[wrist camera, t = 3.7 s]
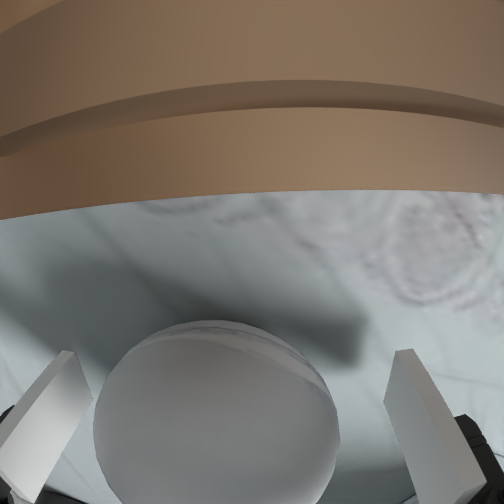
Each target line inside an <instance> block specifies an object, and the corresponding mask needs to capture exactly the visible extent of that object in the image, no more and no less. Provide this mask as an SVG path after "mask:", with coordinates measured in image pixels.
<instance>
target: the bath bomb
mask: <svg viewBox="0 0 504 504" xmlns="http://www.w3.org/2000/svg"><path fill="white" fill-rule="evenodd" d="M93 437H94V444H95V451H96V457H97V460H98V462H99V465H100V467H101V470H102V472H103V474H104V476H105V479H106V481H107V483H108V485H109V487H110V488H111V490H112V491H113V492H114V493H115V495H116V496H117V497H118V498H119V500H120V501H121V502H122V503H123V504H316V503H317V501H318V500H319V498H320V497H321V496H322V494H323V493H324V491H325V489H326V487H327V485H328V483H329V481H330V479H331V477H332V475H333V472H334V468H335V464H336V460H337V455H338V450H339V445H340V437H339V425H338V417H337V410H336V407H335V405H334V402H333V400H332V397H331V394H330V392H329V390H328V388H327V386H326V384H325V382H324V380H323V378H322V377H321V376H320V375H319V373H318V372H317V371H316V370H315V369H314V367H313V366H312V365H311V364H310V363H309V361H308V360H307V359H306V358H305V357H304V356H303V354H302V353H300V352H299V351H298V350H296V349H295V348H294V347H292V346H291V345H290V344H288V343H287V342H286V341H284V340H282V339H280V338H278V337H276V336H274V335H272V334H270V333H268V332H266V331H264V330H262V329H259V328H256V327H253V326H250V325H247V324H244V323H238V322H232V321H225V320H201V321H194V322H188V323H183V324H177V325H173V326H171V327H168V328H166V329H163V330H160V331H158V332H156V333H154V334H152V335H151V336H149V337H147V338H146V339H144V340H143V341H141V342H140V343H138V344H137V345H135V346H134V347H132V348H131V349H130V350H129V351H128V352H127V353H126V354H125V355H124V357H123V358H122V359H121V360H120V361H119V362H118V364H117V365H116V366H115V367H114V368H113V370H112V371H111V372H110V373H109V374H108V376H107V379H106V381H105V383H104V385H103V388H102V390H101V392H100V395H99V398H98V400H97V403H96V407H95V414H94V422H93Z"/></svg>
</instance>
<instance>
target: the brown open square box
mask: <svg viewBox="0 0 504 504" xmlns="http://www.w3.org/2000/svg"><path fill="white" fill-rule="evenodd" d="M307 190H426V191H454V192H474V193H491V194H504V0H0V220H3V219H9V218H15V217H21V216H27V215H33V214H40V213H47V212H53V211H61V210H68V209H75V208H83V207H91V206H99V205H108V204H117V203H126V202H135V201H145V200H156V199H167V198H179V197H191V196H205V195H220V194H236V193H255V192H277V191H307Z"/></svg>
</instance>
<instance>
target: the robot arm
mask: <svg viewBox="0 0 504 504" xmlns="http://www.w3.org/2000/svg"><path fill="white" fill-rule="evenodd" d="M93 399H94V398H93V395H92V393H91V391H90V389H89V386H88V384H87V382H86V379H85V377H84V374H83V372H82V369H81V367H80V364H79V362H78V359H77V357H76V354H75V352H71V351H64V350H62V351H61V352H60V353H59V354H58V355H57V356H56V357H55V359H54V360H53V361H52V362H51V363H50V364H49V365H48V367H47V368H46V369H45V370H44V371H43V372H42V374H41V375H40V376H39V377H38V378H37V379H36V381H35V382H34V383H33V384H32V385H31V387H30V388H29V389H28V390H27V391H26V393H25V394H24V395H23V396H22V398H21V399H20V400H19V401H18V402H17V404H16V405H15V406H14V405H13V406H11V407H10V408H9V409H7V410H6V411H4V412H3V414H2V415H1V416H0V504H14V501H13V497H12V495H11V494H10V493H9V492H10V490H11V489H12V490H13V491H14V492H15V493H16V494H17V495H18V496H19V497H21V498H23V499H25V500H27V501H29V502H31V503H33V504H34V503H35V501H36V499H37V497H38V495H39V493H40V491H41V489H42V487H43V486H44V484H45V482H46V480H47V478H48V476H49V475H50V473H51V471H52V469H53V467H54V466H55V464H56V462H57V460H58V458H59V457H60V455H61V453H62V451H63V450H64V448H65V446H66V445H67V443H68V441H69V439H70V438H71V436H72V434H73V433H74V431H75V429H76V427H77V426H78V424H79V422H80V421H81V419H82V417H83V416H84V414H85V412H86V411H87V409H88V407H89V406H90V404H91V403H92V401H93ZM383 402H384V404H385V407H386V409H387V412H388V415H389V417H390V420H391V423H392V425H393V428H394V431H395V433H396V436H397V439H398V442H399V444H400V447H401V450H402V453H403V456H404V458H405V461H406V464H407V467H408V470H409V473H410V476H411V479H412V482H413V485H414V488H415V491H416V494H417V497H418V501H419V504H504V472H503V470H502V468H501V466H500V465H499V463H498V461H497V459H496V457H495V455H494V453H493V452H492V450H491V448H490V446H489V444H487V441H486V439H485V437H484V436H483V435H482V432H481V431H480V429H479V427H478V425H477V424H476V422H475V421H473V420H472V419H471V418H470V417H468V416H467V415H466V414H464V415H461V416H457V417H453V415H452V413H451V412H450V410H449V408H448V406H447V404H446V403H445V401H444V399H443V398H442V396H441V394H440V392H439V391H438V389H437V387H436V386H435V384H434V382H433V381H432V379H431V377H430V376H429V374H428V372H427V371H426V369H425V367H424V366H423V364H422V363H421V361H420V359H419V358H418V356H417V355H416V353H415V351H414V350H413V349H408V350H401V351H395V356H394V361H393V365H392V370H391V374H390V378H389V382H388V386H387V390H386V394H385V398H384V401H383ZM36 504H82V503H80V502H77V501H75V500H72V499H70V498H67V497H64V496H61V495H57V494H54V493H48V492H44V493H41V495H40V497H39V499H38V501H37V503H36Z"/></svg>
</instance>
